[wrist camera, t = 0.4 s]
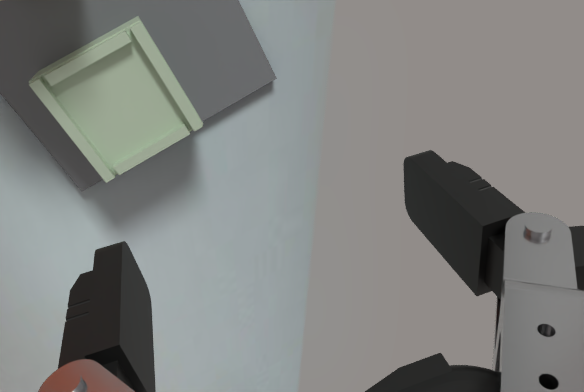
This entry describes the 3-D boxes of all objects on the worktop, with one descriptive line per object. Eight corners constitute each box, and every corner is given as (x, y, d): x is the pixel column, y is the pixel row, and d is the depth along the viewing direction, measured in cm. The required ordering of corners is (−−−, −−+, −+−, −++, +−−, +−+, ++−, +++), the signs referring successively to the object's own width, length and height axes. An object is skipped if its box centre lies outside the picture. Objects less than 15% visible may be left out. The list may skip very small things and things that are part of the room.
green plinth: (38, 71, 33) (26, 84, 29) (138, 15, 34) (140, 20, 30) (107, 162, 37) (105, 184, 33) (196, 111, 38) (205, 127, 34)
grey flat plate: (-129, -70, 29) (-137, -72, 28) (134, -206, 30) (134, -212, 29) (82, 186, 38) (81, 191, 38) (273, 76, 40) (276, 78, 39)
